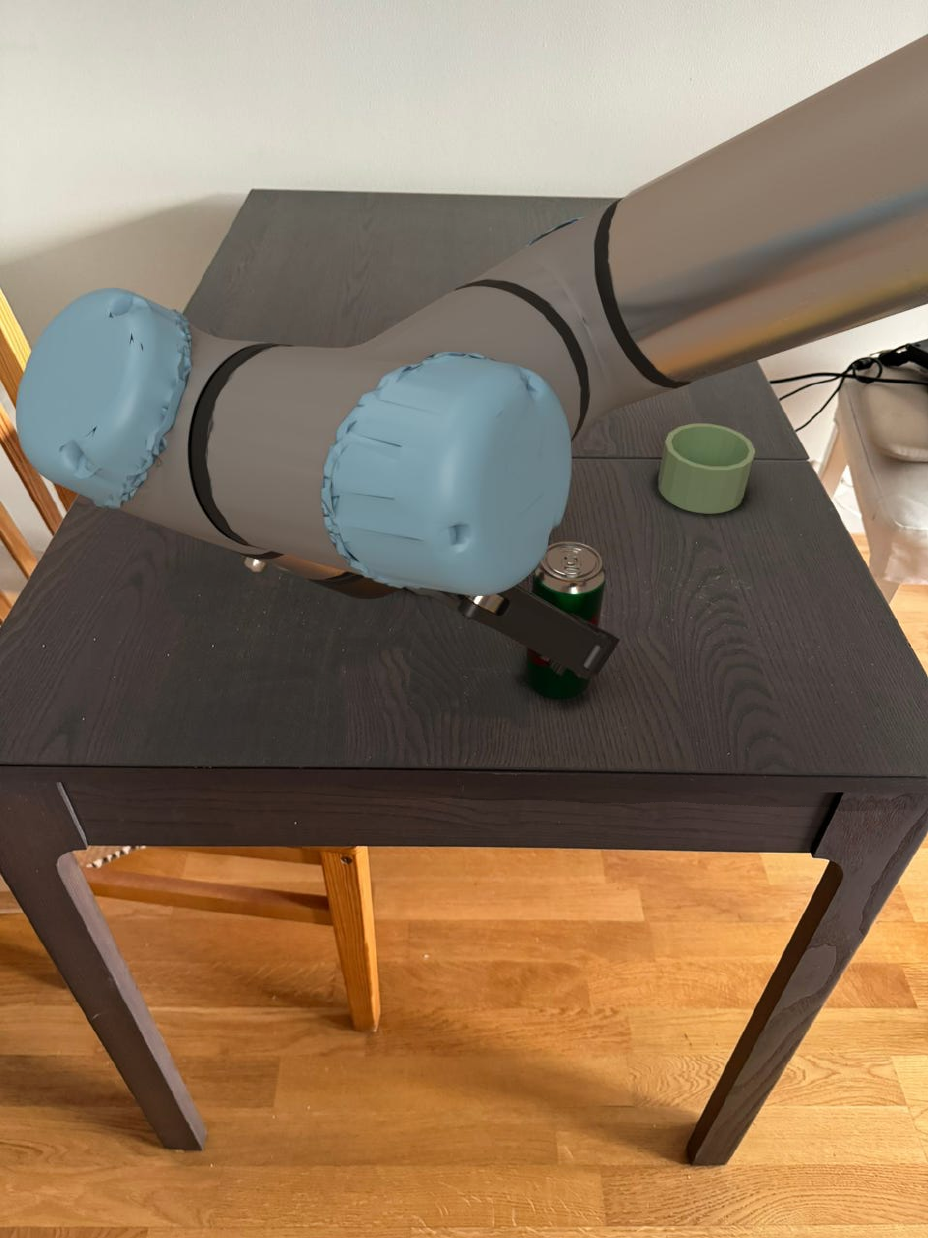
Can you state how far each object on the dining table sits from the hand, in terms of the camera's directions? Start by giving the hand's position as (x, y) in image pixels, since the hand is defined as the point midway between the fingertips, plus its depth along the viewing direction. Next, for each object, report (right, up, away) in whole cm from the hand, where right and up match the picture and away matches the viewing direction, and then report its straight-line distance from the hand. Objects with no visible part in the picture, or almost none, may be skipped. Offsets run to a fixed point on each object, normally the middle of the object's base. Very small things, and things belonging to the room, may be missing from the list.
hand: (527, 603), depth 63 cm
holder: (+19, +12, +29) cm, 37 cm away
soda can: (+3, -6, +9) cm, 11 cm away
